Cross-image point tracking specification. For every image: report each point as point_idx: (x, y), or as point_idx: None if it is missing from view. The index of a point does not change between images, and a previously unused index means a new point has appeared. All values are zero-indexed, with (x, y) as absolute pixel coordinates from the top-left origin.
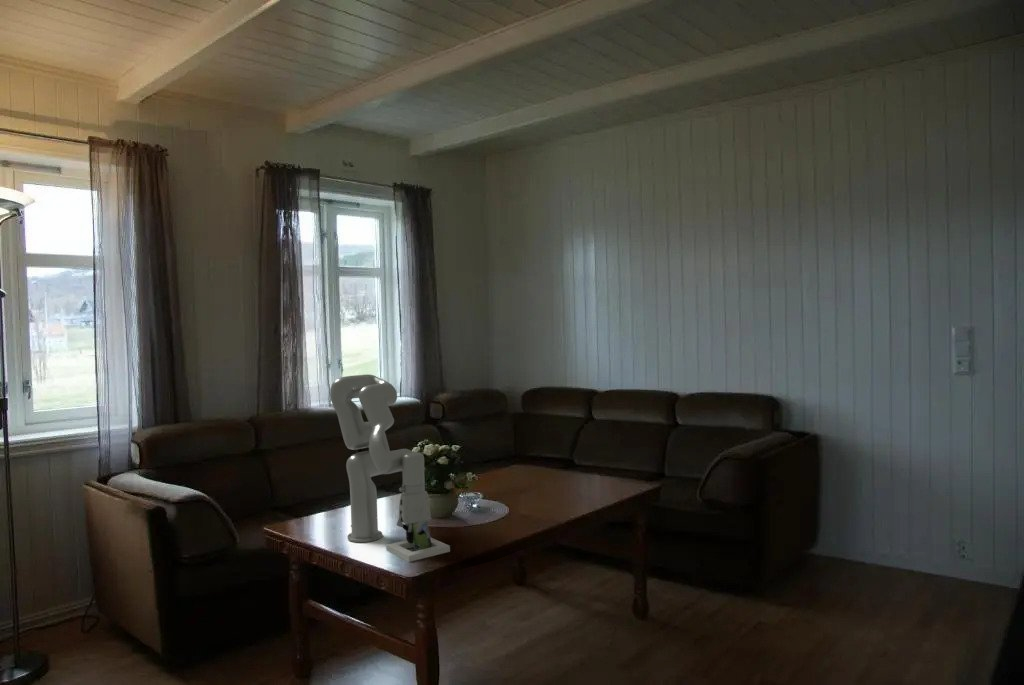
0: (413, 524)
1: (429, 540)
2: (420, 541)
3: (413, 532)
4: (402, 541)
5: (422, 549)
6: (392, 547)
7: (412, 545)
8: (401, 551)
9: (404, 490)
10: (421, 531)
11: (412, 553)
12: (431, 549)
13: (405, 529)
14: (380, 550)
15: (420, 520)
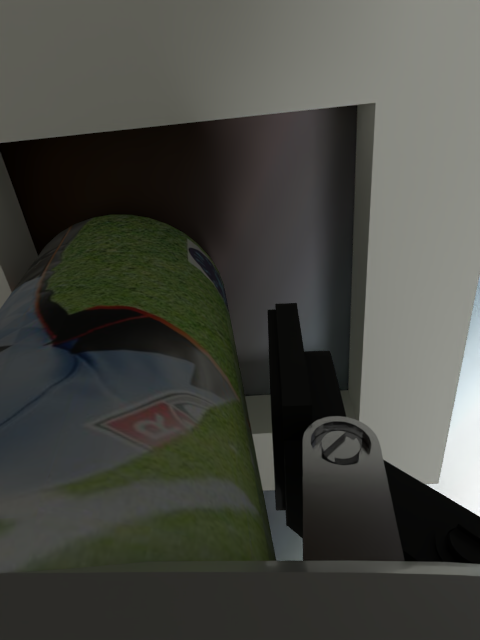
0: (254, 552)
1: (29, 272)
2: (170, 268)
3: (245, 418)
4: (272, 481)
5: (201, 116)
6: (448, 396)
7: None
8: (470, 215)
9: None
10: (109, 342)
11: (418, 10)
12: (78, 18)
13: (432, 491)
14: (452, 465)
15: (5, 610)
